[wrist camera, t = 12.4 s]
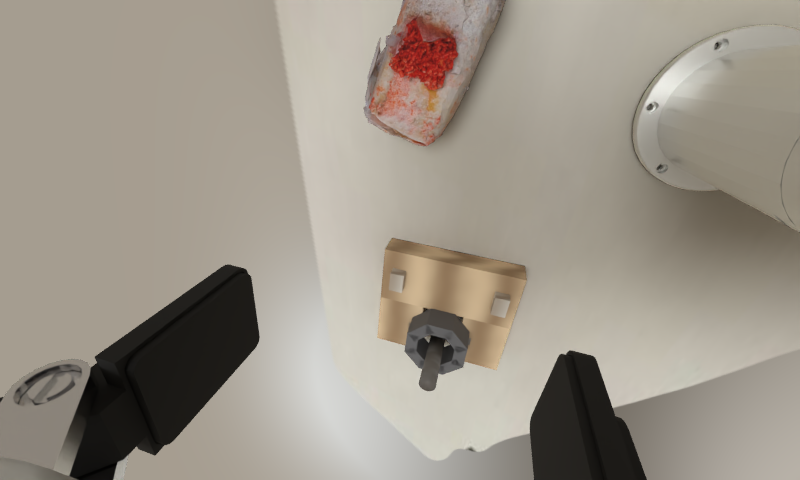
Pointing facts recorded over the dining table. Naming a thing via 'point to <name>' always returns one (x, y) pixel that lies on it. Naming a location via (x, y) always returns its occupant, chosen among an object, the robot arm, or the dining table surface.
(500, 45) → the dining table surface
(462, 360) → the faceted grey ring
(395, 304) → the toggle switch panel
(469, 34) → the food item
